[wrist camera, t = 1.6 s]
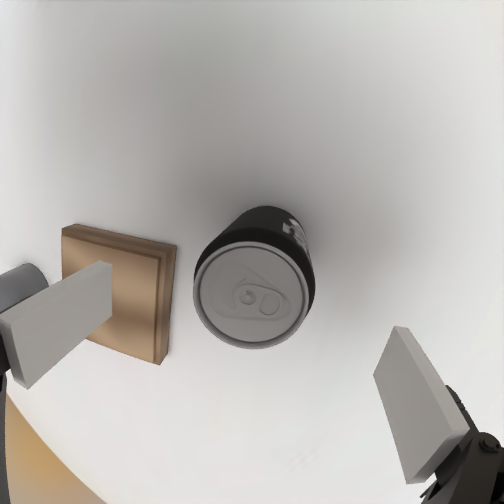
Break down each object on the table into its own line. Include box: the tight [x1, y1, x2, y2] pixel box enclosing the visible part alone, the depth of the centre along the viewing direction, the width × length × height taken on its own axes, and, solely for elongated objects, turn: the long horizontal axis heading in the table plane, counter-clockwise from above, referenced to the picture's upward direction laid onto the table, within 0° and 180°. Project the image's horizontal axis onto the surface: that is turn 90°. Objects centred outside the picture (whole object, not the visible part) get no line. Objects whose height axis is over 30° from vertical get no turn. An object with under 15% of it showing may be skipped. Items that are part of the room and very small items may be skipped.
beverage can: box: [193, 206, 315, 349], centre depth 20 cm, size 7×7×12 cm
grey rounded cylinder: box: [0, 263, 49, 312], centre depth 27 cm, size 7×7×9 cm
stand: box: [61, 224, 176, 365], centre depth 28 cm, size 12×12×3 cm
